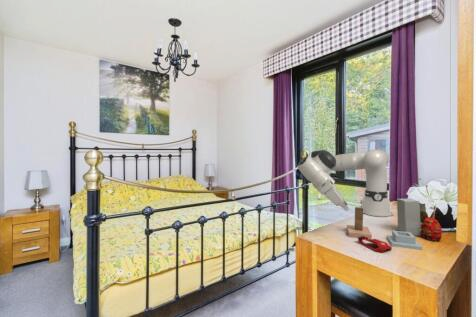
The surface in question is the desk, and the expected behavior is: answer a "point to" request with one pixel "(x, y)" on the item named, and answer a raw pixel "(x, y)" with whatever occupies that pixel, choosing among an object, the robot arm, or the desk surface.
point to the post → (359, 218)
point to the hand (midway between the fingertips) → (347, 207)
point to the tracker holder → (381, 244)
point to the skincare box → (409, 216)
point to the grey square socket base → (403, 240)
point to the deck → (358, 232)
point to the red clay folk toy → (431, 228)
